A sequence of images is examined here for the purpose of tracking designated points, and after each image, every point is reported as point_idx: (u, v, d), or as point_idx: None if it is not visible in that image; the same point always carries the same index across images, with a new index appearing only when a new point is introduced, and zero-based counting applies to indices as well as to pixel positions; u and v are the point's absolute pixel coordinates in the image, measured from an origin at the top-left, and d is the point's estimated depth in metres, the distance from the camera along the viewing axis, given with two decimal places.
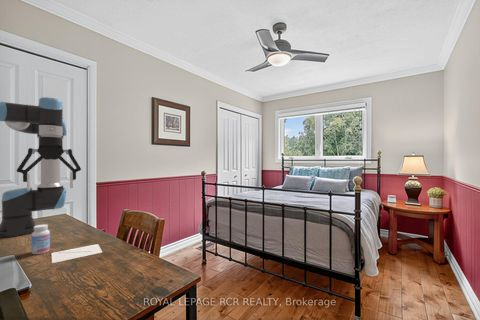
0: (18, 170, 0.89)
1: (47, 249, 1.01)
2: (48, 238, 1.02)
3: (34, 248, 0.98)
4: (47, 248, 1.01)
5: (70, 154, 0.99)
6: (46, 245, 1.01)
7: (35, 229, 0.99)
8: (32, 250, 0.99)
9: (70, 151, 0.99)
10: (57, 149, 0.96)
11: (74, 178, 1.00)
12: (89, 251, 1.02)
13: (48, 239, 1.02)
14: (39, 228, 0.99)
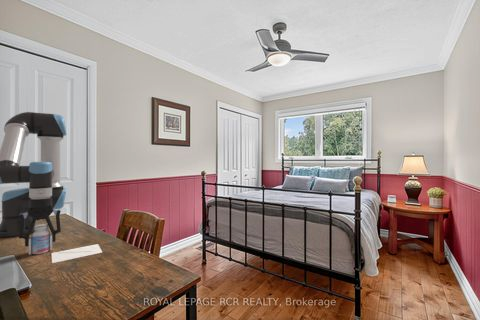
0: (20, 237, 0.96)
1: (47, 249, 1.01)
2: (48, 238, 1.02)
3: (34, 248, 0.98)
4: (47, 248, 1.01)
5: (57, 215, 1.04)
6: (46, 245, 1.01)
7: (35, 229, 0.99)
8: (32, 250, 0.99)
9: (58, 212, 1.04)
10: (48, 208, 1.02)
11: (54, 240, 1.03)
12: (89, 251, 1.02)
13: (48, 239, 1.02)
14: (39, 228, 0.99)
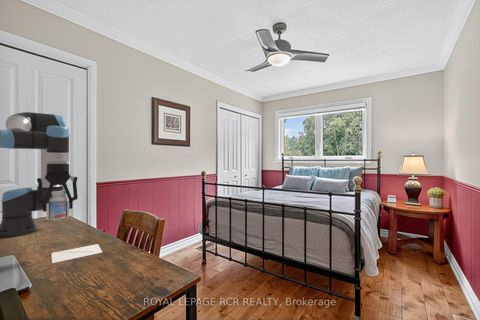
0: (38, 201, 0.94)
1: (64, 215, 0.99)
2: (65, 204, 1.00)
3: (52, 213, 0.96)
4: (64, 214, 0.99)
5: (74, 182, 1.02)
6: (63, 211, 0.99)
7: (53, 194, 0.97)
8: (50, 215, 0.97)
9: (75, 179, 1.02)
10: (65, 174, 1.00)
11: (71, 207, 1.02)
12: (89, 251, 1.02)
13: (65, 205, 1.00)
14: (57, 193, 0.97)
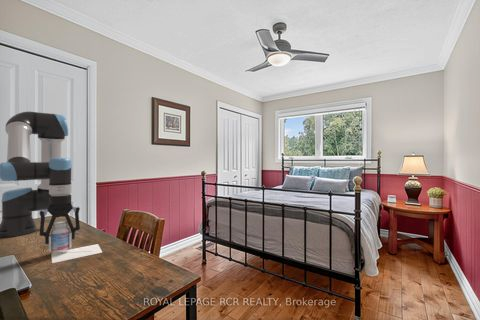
0: (41, 234, 0.95)
1: (67, 247, 1.00)
2: (68, 236, 1.00)
3: (54, 246, 0.97)
4: (67, 245, 1.00)
5: (76, 212, 1.02)
6: (65, 243, 0.99)
7: (55, 226, 0.98)
8: (52, 248, 0.97)
9: (78, 210, 1.02)
10: (67, 205, 1.00)
11: (73, 238, 1.02)
12: (89, 251, 1.02)
13: (68, 237, 1.00)
14: (59, 225, 0.98)
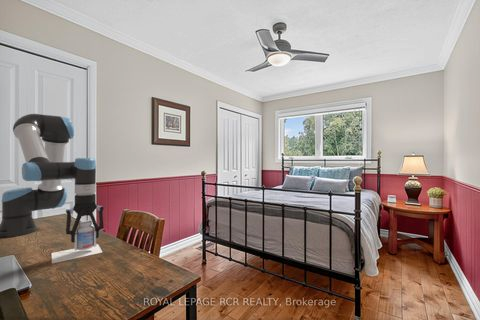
0: (67, 232, 0.97)
1: (91, 245, 1.01)
2: (92, 234, 1.02)
3: (80, 244, 0.99)
4: (91, 244, 1.01)
5: (100, 211, 1.04)
6: (90, 241, 1.01)
7: (80, 225, 0.99)
8: (78, 246, 0.99)
9: (102, 209, 1.04)
10: (92, 204, 1.02)
11: (97, 236, 1.04)
12: (89, 251, 1.02)
13: (92, 235, 1.02)
14: (84, 224, 0.99)
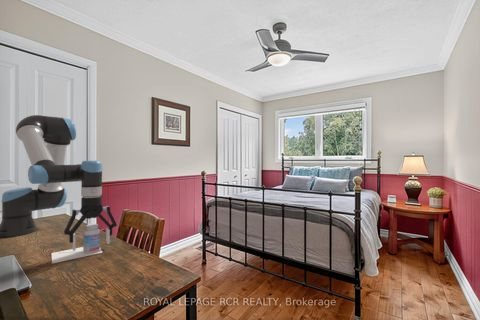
0: (65, 233, 0.95)
1: (98, 248, 1.02)
2: (99, 237, 1.03)
3: (87, 247, 0.99)
4: (98, 247, 1.02)
5: (108, 211, 1.05)
6: (97, 244, 1.02)
7: (88, 228, 1.00)
8: (84, 249, 1.00)
9: (108, 208, 1.05)
10: (97, 207, 1.02)
11: (110, 234, 1.06)
12: None
13: (99, 238, 1.03)
14: (91, 227, 1.00)
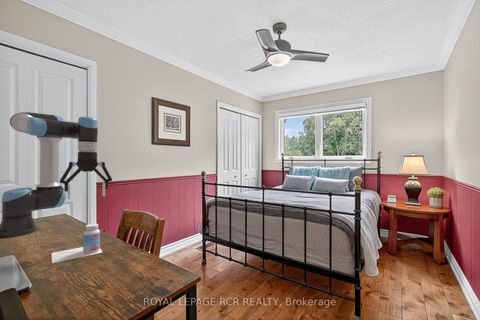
0: (61, 181, 1.02)
1: (98, 248, 1.02)
2: (99, 237, 1.03)
3: (87, 247, 0.99)
4: (98, 247, 1.02)
5: (103, 166, 1.12)
6: (97, 244, 1.02)
7: (87, 228, 1.00)
8: (84, 249, 1.00)
9: (103, 164, 1.12)
10: (93, 162, 1.09)
11: (106, 187, 1.13)
12: None
13: (99, 238, 1.03)
14: (91, 227, 1.00)
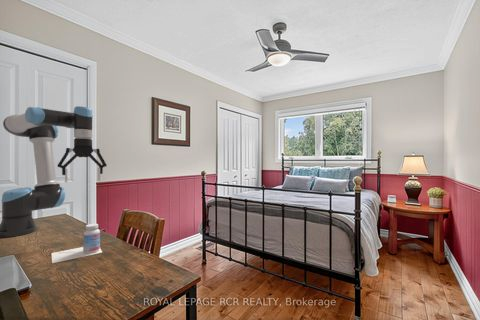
0: (59, 165, 1.10)
1: (98, 248, 1.02)
2: (99, 237, 1.03)
3: (87, 247, 0.99)
4: (98, 247, 1.02)
5: (98, 153, 1.20)
6: (97, 244, 1.02)
7: (87, 228, 1.00)
8: (84, 249, 1.00)
9: (98, 150, 1.20)
10: (88, 148, 1.18)
11: (101, 172, 1.22)
12: None
13: (99, 238, 1.03)
14: (91, 227, 1.00)
